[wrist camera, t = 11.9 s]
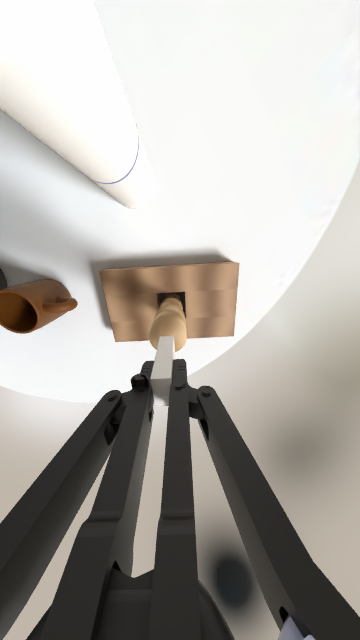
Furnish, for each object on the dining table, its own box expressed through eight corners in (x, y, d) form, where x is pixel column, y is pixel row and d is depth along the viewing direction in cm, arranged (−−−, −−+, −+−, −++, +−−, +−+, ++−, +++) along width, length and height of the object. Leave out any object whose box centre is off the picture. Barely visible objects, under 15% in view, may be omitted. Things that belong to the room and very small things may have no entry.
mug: (88, 275, 34) (57, 284, 25) (98, 311, 37) (73, 331, 28) (29, 279, 34) (-23, 290, 25) (43, 315, 37) (1, 336, 28)
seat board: (121, 333, 39) (115, 342, 35) (108, 268, 33) (99, 271, 29) (228, 327, 38) (233, 336, 35) (232, 261, 33) (239, 263, 29)
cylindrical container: (133, 219, 30) (-17, 121, 7) (102, 180, 28) (-267, -148, 5) (164, 187, 28) (99, -82, 5) (133, 143, 26) (-211, -646, 3)
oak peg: (162, 311, 37) (151, 354, 22) (160, 290, 35) (146, 320, 20) (184, 310, 37) (187, 352, 22) (183, 289, 35) (185, 318, 20)
